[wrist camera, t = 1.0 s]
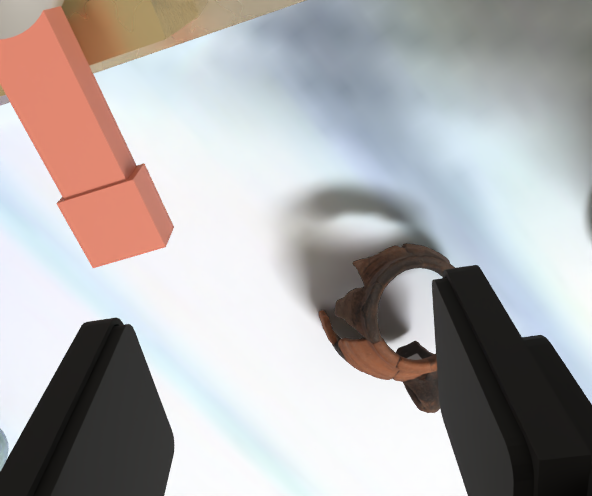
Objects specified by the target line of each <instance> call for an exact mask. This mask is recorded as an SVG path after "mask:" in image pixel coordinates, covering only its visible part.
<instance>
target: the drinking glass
mask: <svg viewBox="0 0 592 496" xmlns="http://www.w3.org/2000/svg"><path fill="white" fill-rule="evenodd" d="M7 455H8V442H7V439H6V437H5V435H4V433H3V431H2V430H1V429H0V471H1V469H2V467H3V466H4V464H5V462H6V459H7Z"/></svg>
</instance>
